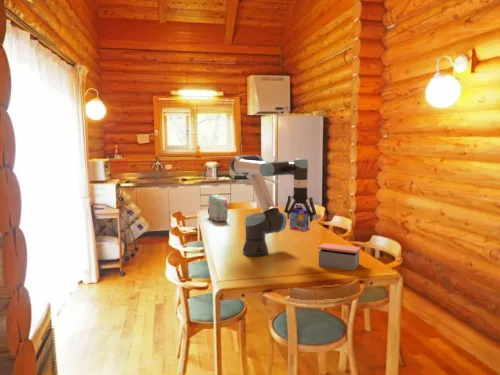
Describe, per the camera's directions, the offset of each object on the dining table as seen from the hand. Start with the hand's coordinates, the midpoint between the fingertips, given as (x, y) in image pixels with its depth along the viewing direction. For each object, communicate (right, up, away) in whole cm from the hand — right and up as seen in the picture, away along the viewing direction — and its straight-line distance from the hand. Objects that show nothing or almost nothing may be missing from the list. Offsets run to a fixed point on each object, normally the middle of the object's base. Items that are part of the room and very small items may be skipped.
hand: (299, 226), depth 212 cm
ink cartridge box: (0, -2, 0) cm, 2 cm away
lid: (+20, -11, -8) cm, 25 cm away
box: (+20, -20, -7) cm, 29 cm away
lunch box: (-55, -6, +108) cm, 121 cm away
